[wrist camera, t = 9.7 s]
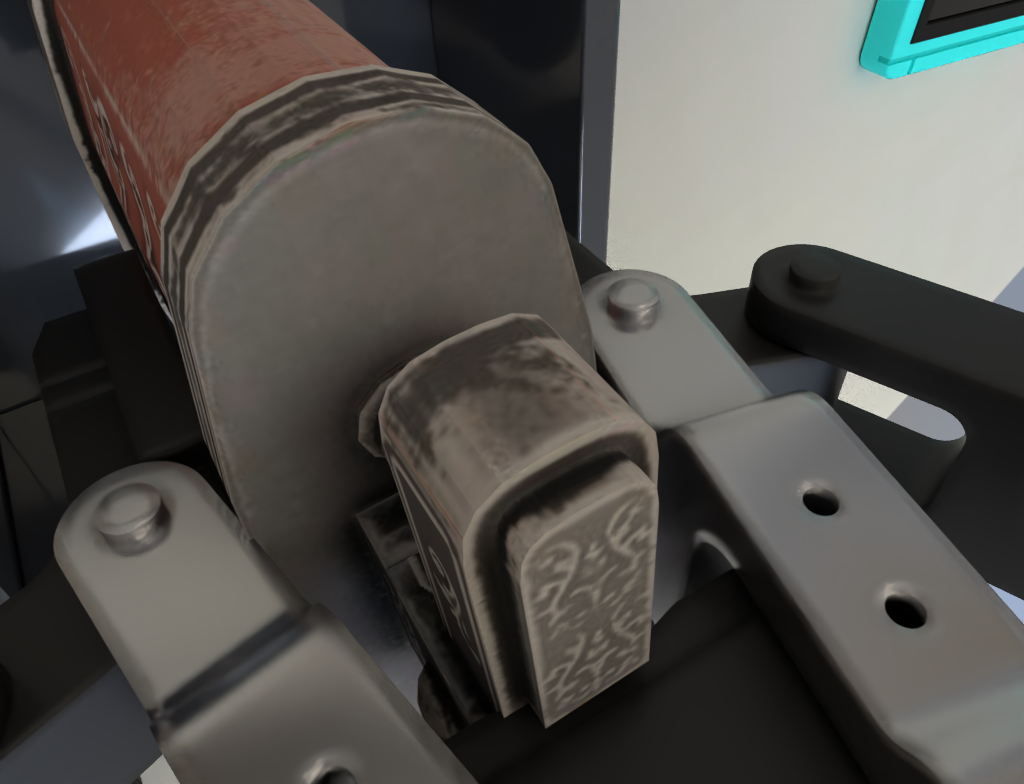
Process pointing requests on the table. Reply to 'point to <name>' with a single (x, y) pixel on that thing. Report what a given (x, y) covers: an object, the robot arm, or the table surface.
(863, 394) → the table surface
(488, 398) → the lighter
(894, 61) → the handheld game console
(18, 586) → the grey square tray
